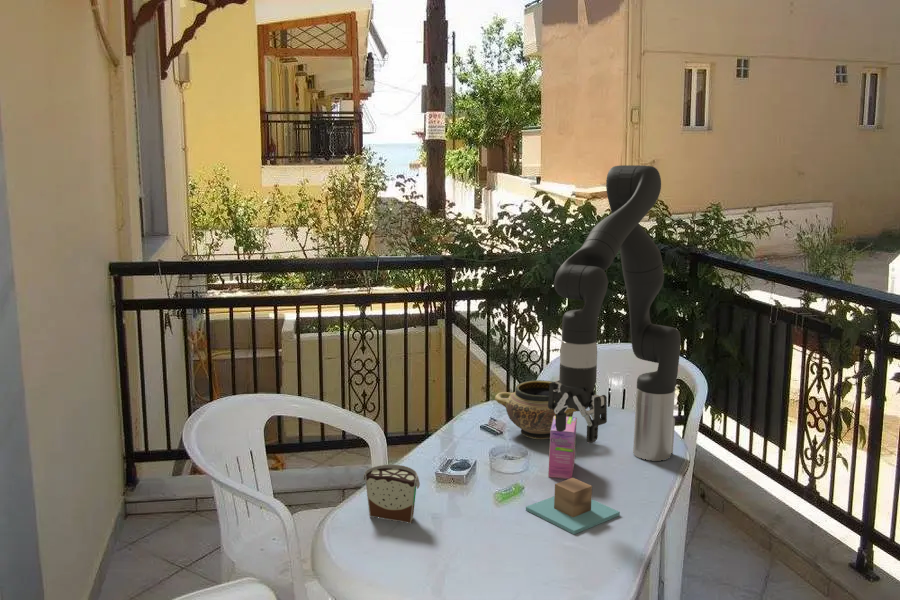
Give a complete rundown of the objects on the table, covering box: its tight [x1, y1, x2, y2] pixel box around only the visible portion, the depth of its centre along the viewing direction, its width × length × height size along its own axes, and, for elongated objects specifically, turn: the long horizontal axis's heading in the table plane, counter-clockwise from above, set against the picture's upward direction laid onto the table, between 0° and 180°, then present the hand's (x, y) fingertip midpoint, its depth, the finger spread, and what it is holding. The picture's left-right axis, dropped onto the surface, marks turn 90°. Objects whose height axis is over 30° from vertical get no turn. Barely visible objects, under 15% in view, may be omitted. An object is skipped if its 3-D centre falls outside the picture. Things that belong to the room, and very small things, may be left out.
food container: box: [362, 464, 421, 524], centre depth 179 cm, size 12×6×10 cm, turn 71°
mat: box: [525, 495, 621, 535], centre depth 181 cm, size 14×14×1 cm
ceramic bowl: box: [494, 379, 577, 440], centre depth 227 cm, size 24×18×15 cm
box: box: [547, 416, 578, 480], centre depth 203 cm, size 10×6×12 cm, turn 168°
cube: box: [554, 477, 593, 517], centre depth 180 cm, size 6×6×6 cm
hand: (575, 436), depth 178 cm, fingers open, 8 cm apart
